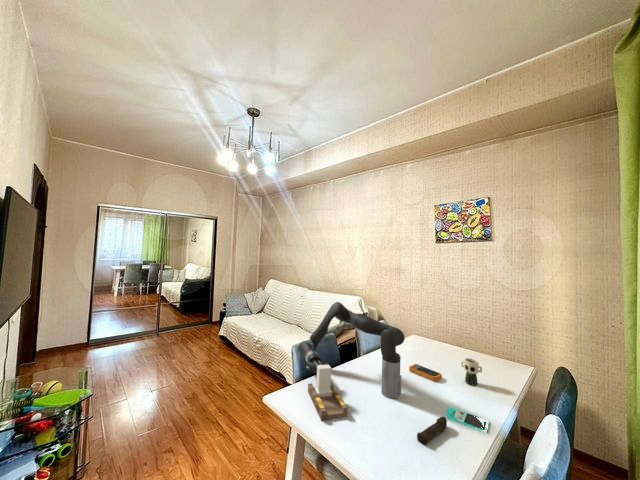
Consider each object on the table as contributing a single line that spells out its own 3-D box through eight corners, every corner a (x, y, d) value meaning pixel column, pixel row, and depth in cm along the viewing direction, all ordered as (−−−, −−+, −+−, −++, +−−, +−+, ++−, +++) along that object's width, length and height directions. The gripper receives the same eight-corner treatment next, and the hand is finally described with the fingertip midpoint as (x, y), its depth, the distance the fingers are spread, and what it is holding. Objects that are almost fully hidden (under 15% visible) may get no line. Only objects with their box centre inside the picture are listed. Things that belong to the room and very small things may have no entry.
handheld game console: (450, 408, 125) (450, 405, 125) (489, 423, 115) (489, 420, 115) (445, 418, 117) (445, 415, 117) (487, 435, 107) (487, 431, 107)
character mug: (458, 381, 151) (459, 359, 152) (463, 378, 156) (463, 356, 157) (480, 389, 143) (480, 365, 144) (483, 385, 148) (484, 362, 149)
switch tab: (314, 391, 131) (315, 364, 132) (328, 389, 133) (329, 363, 134) (317, 397, 125) (318, 370, 126) (332, 395, 127) (333, 368, 128)
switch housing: (307, 391, 134) (308, 383, 134) (329, 389, 138) (330, 381, 138) (321, 420, 111) (321, 410, 111) (347, 416, 115) (347, 407, 115)
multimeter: (436, 383, 149) (436, 377, 149) (408, 371, 163) (408, 366, 163) (443, 379, 154) (443, 373, 155) (415, 368, 168) (415, 363, 169)
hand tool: (425, 448, 98) (425, 435, 98) (416, 441, 101) (416, 429, 102) (452, 430, 109) (452, 419, 109) (443, 425, 112) (443, 414, 112)
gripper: (302, 353, 148) (309, 366, 131) (324, 352, 152) (334, 364, 135) (301, 367, 147) (309, 381, 131) (323, 365, 151) (333, 379, 135)
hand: (322, 372), depth 133 cm, fingers closed
